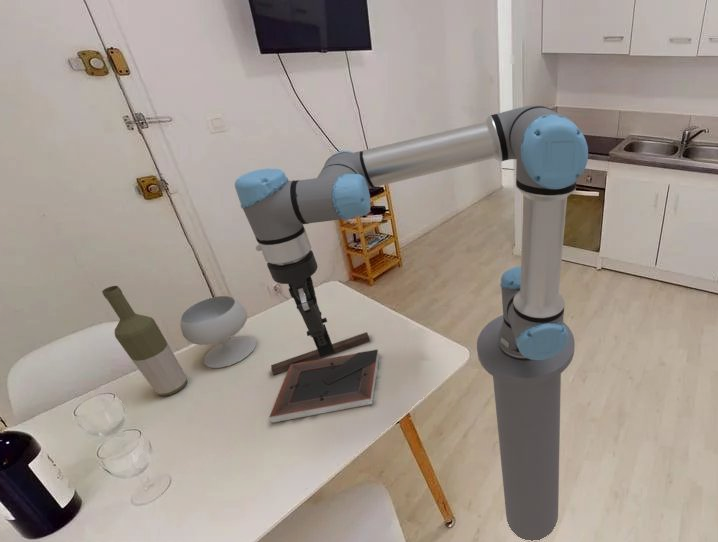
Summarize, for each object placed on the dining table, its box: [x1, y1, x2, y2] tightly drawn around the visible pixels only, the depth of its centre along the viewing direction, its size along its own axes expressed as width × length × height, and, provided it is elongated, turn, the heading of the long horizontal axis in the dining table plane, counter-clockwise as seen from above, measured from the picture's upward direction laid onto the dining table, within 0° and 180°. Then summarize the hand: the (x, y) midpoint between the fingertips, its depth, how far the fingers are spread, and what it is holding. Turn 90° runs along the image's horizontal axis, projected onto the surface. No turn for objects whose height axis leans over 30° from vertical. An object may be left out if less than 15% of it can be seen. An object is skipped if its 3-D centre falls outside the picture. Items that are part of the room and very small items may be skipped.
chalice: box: [179, 295, 257, 369], centre depth 109 cm, size 14×14×15 cm
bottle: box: [101, 285, 188, 397], centre depth 94 cm, size 7×7×30 cm
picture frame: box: [269, 349, 380, 423], centre depth 100 cm, size 16×2×22 cm
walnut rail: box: [270, 331, 371, 376], centre depth 110 cm, size 24×2×2 cm, turn 120°
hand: (327, 352), depth 85 cm, fingers closed
